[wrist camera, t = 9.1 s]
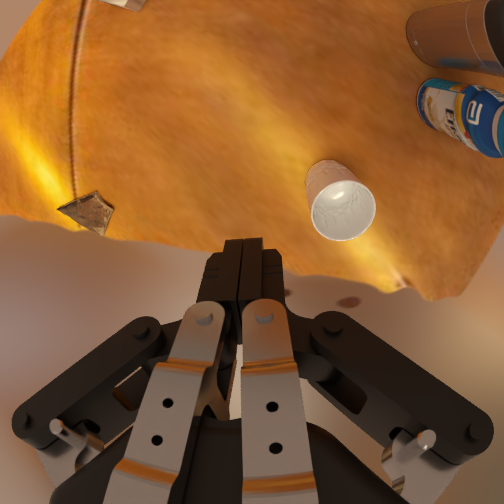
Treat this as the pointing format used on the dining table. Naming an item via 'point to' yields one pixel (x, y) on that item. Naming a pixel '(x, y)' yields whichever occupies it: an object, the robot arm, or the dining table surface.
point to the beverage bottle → (465, 114)
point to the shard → (89, 212)
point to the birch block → (126, 4)
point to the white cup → (338, 201)
